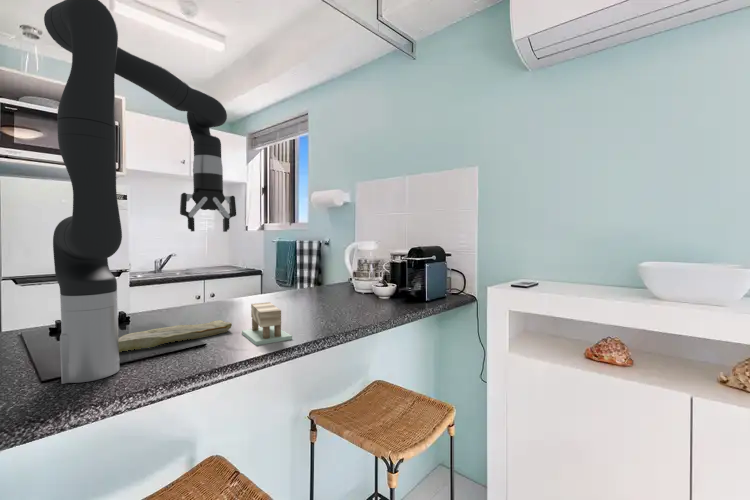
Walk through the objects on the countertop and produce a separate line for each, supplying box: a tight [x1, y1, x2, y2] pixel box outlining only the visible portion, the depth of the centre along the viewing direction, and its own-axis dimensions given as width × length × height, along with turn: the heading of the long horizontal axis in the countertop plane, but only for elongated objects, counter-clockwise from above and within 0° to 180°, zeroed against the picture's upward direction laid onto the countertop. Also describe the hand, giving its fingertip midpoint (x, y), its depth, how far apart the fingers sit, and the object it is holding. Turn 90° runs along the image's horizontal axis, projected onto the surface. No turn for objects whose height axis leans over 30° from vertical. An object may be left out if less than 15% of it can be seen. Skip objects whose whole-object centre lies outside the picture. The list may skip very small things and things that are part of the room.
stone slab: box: [119, 319, 233, 353], centre depth 102 cm, size 12×4×30 cm
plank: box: [250, 301, 282, 328], centre depth 104 cm, size 14×6×4 cm, turn 28°
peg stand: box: [241, 317, 293, 346], centre depth 104 cm, size 14×10×4 cm
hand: (209, 231), depth 102 cm, fingers open, 8 cm apart
